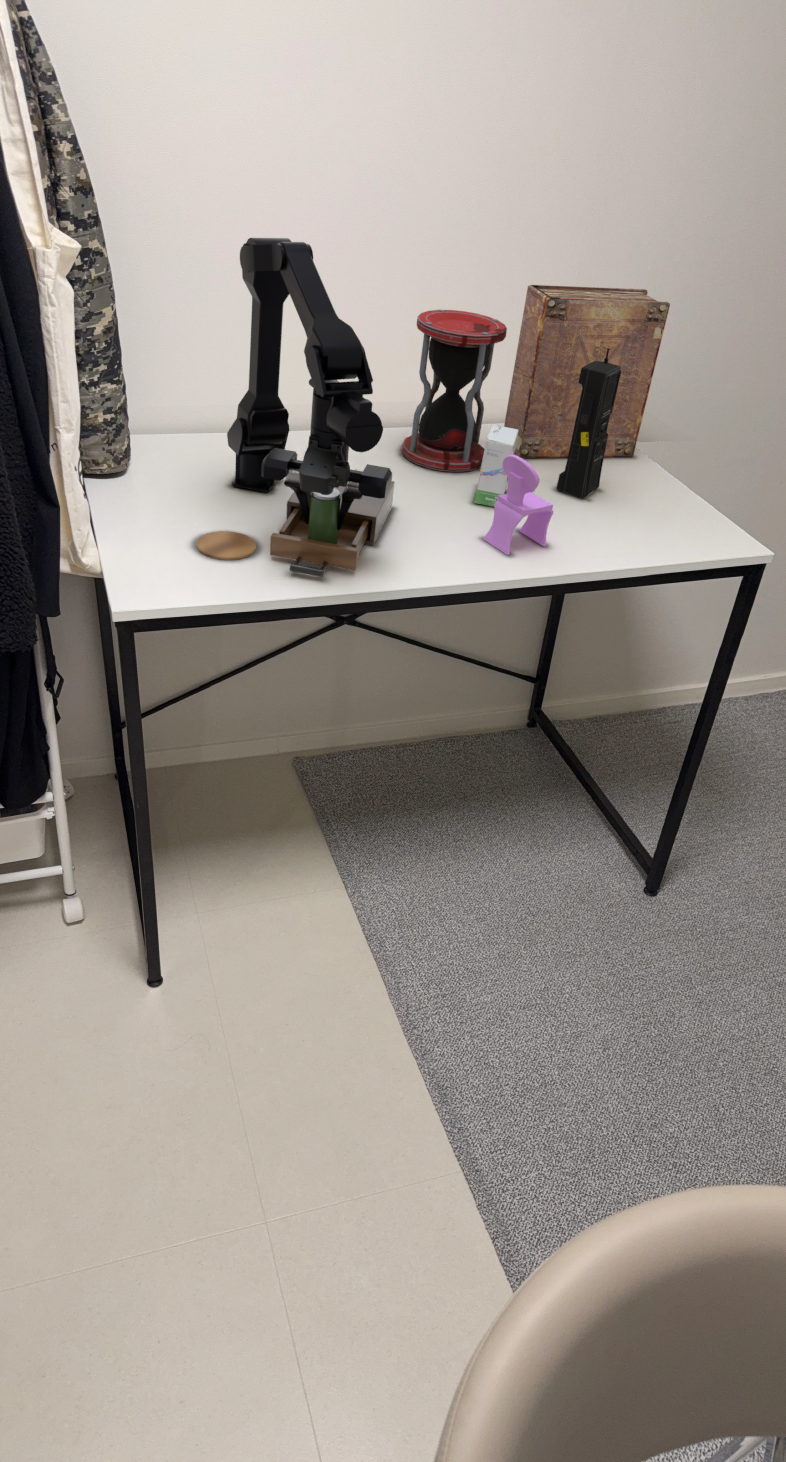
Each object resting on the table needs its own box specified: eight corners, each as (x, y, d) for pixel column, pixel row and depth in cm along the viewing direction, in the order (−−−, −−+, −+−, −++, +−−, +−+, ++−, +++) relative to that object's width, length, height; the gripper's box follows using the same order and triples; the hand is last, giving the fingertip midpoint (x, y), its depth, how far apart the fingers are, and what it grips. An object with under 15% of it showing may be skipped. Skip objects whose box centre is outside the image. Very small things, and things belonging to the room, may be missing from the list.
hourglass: (430, 476, 191) (449, 336, 177) (386, 444, 202) (400, 310, 188) (501, 467, 199) (525, 332, 184) (455, 437, 210) (474, 307, 195)
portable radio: (583, 502, 189) (614, 362, 175) (553, 492, 192) (581, 353, 177) (599, 489, 195) (631, 353, 180) (570, 480, 197) (599, 345, 183)
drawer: (349, 583, 153) (351, 562, 151) (262, 567, 154) (263, 546, 152) (374, 533, 168) (376, 513, 166) (294, 519, 169) (295, 499, 167)
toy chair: (551, 548, 172) (570, 460, 163) (511, 557, 167) (528, 468, 159) (518, 527, 177) (535, 442, 168) (479, 536, 172) (494, 449, 164)
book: (612, 440, 218) (648, 289, 201) (633, 457, 211) (672, 302, 194) (500, 441, 211) (527, 284, 193) (518, 458, 204) (548, 297, 186)
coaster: (188, 553, 157) (188, 551, 156) (207, 529, 164) (207, 527, 164) (246, 564, 156) (246, 561, 156) (263, 539, 163) (263, 537, 163)
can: (304, 544, 159) (307, 494, 154) (311, 531, 163) (314, 483, 158) (333, 549, 159) (337, 500, 154) (340, 537, 162) (344, 488, 158)
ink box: (479, 486, 190) (490, 422, 183) (507, 491, 190) (519, 427, 183) (473, 503, 183) (484, 438, 176) (502, 509, 183) (514, 443, 176)
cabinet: (373, 545, 165) (376, 517, 163) (285, 529, 167) (287, 501, 164) (391, 508, 178) (394, 481, 175) (309, 493, 179) (311, 466, 176)
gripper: (251, 433, 145) (248, 536, 154) (383, 456, 143) (372, 559, 152) (274, 408, 154) (269, 507, 163) (397, 430, 152) (386, 528, 161)
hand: (323, 526), depth 159 cm, fingers closed on can, 4 cm apart
